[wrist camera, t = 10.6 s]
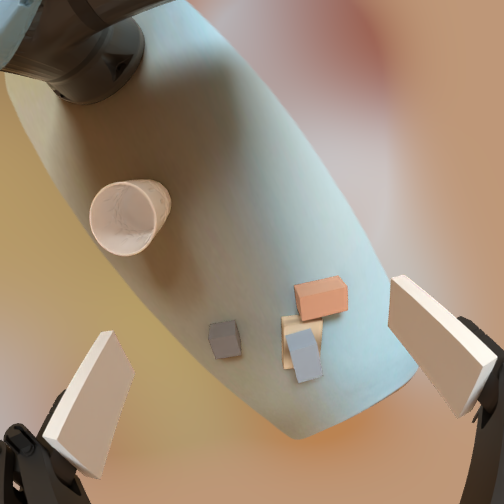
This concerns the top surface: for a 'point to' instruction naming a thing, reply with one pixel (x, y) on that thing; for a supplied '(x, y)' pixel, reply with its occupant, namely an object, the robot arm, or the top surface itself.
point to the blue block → (304, 355)
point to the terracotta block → (321, 297)
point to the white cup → (129, 215)
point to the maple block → (295, 325)
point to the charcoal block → (224, 339)
